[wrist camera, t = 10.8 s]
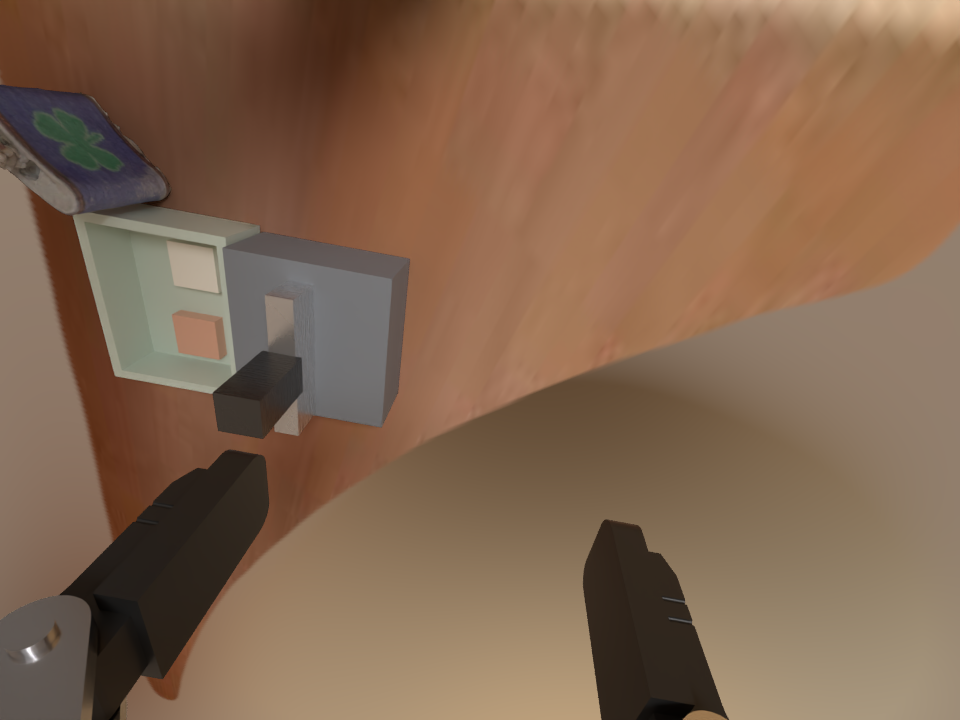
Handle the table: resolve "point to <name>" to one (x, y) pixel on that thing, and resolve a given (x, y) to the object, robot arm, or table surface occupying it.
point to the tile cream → (194, 265)
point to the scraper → (275, 371)
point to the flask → (73, 152)
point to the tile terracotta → (199, 334)
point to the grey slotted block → (327, 317)
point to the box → (155, 291)
